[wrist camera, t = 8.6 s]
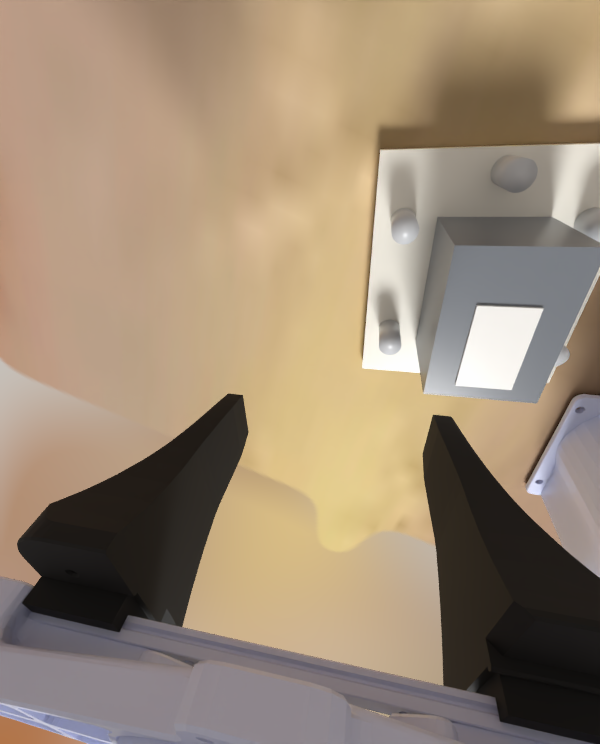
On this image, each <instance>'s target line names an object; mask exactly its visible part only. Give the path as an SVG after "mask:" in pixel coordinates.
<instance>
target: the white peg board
mask: <svg viewBox="0 0 600 744" xmlns="http://www.w3.org/2000/svg"><path fill="white" fill-rule="evenodd" d="M437 217H553V218H555V219H557V220H559V221H561V222H563V223H564V224H566V225H568V226H570V227H572V228H574V229H576V230H577V231H579V232H581V233H583V234H585V235H587V236H588V237H590V238H592V239H594V240H596V241H598V242H600V143H570V144H537V145H504V146H471V147H438V148H406V149H380V159H379V171H378V183H377V195H376V207H375V219H374V231H373V243H372V255H371V268H370V280H369V292H368V304H367V316H366V328H365V340H364V352H363V364H362V368H365V369H377V370H390V371H403V372H416V373H420V368H419V362H418V355H417V349H416V336H417V331H418V325H419V319H420V314H421V308H422V302H423V297H424V291H425V285H426V279H427V274H428V268H429V262H430V257H431V251H432V245H433V240H434V234H435V228H436V223H437ZM599 275H600V267H599V270H598V272H597V274H596V276H595V278H594V280H593V283H592V285H591V287H590V289H589V291H588V294H587V296H586V298H585V300H584V302H583V304H582V307H581V309H580V311H579V313H578V315H577V317H576V320H575V322H574V324H573V326H572V328H571V330H570V333H569V335H568V337H567V339H566V341H565V343H564V346H563V348H562V350H561V352H560V354H559V356H558V359H557V361H556V363H555V365H554V367H553V369H552V372H551V374H550V376H549V378H548V380H547V382H546V383H549V382H550V379H551V377H552V375H553V373H554V371H555V369H556V367H557V366H559V365H561V364H563V363H565V362H566V361H567V360H568V358H569V356H570V352H569V350H568V349H567V348H566V346H567V343H568V341H569V339H570V337H571V335H572V333H573V331H574V329H575V326H576V324H577V322H578V320H579V318H580V316H581V314H582V312H583V309H584V307H585V305H586V303H587V301H588V299H589V297H590V295H591V292H592V290H593V288H594V286H595V284H596V282H597V280H598V278H599Z"/></svg>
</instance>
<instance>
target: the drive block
mask: <svg viewBox="0 0 600 744" xmlns="http://www.w3.org/2000/svg"><path fill="white" fill-rule="evenodd" d="M599 267H600V242H598V241H596V240H594V239H592V238H590V237H588V236H587V235H585V234H583V233H581V232H579V231H577V230H576V229H574V228H572V227H570V226H568V225H566V224H564V223H563V222H561V221H559V220H557V219H555V218H553V217H437V223H436V228H435V234H434V240H433V245H432V251H431V257H430V262H429V268H428V274H427V279H426V285H425V291H424V297H423V302H422V308H421V314H420V319H419V325H418V331H417V336H416V349H417V355H418V362H419V368H420V375H421V382H422V388H423V394H433V395H445V396H457V397H468V398H480V399H492V400H503V401H515V402H527V403H537V402H538V400H539V398H540V396H541V393H542V391H543V389H544V387H545V385H546V382H547V380H548V378H549V376H550V374H551V372H552V369H553V367H554V365H555V363H556V361H557V359H558V356H559V354H560V352H561V350H562V348H563V346H564V343H565V341H566V339H567V337H568V335H569V333H570V330H571V328H572V326H573V324H574V322H575V320H576V317H577V315H578V313H579V311H580V309H581V307H582V304H583V302H584V300H585V298H586V296H587V294H588V291H589V289H590V287H591V285H592V283H593V280H594V278H595V276H596V274H597V272H598V270H599Z"/></svg>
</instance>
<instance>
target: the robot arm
mask: <svg viewBox="0 0 600 744" xmlns="http://www.w3.org/2000/svg"><path fill="white" fill-rule="evenodd" d="M578 407H581V408H579V409H576V408H578ZM247 436H248V426H247V420H246V413H245V407H244V400H243V395H236V394H227V395H226V396H225V397H224V398H223V399H221V400H220V401H219V402H218V403H217V404H216V405H214V406H213V407H212V408H211V409H210V410H209V411H208V412H207V413H205V414H204V415H203V416H202V417H201V418H200V419H198V420H197V421H196V422H195V423H194V424H192V425H191V426H190V427H189V428H188V429H186V430H185V431H184V432H182V433H181V434H180V435H179V436H177V437H176V438H175V439H173V440H172V441H171V442H169V443H168V444H167V445H165V446H164V447H162V448H161V449H159V450H158V451H156V452H155V453H153V454H152V455H150V456H149V457H147V458H145V459H144V460H142V461H140V462H138V463H137V464H135V465H133V466H131V467H130V468H128V469H126V470H124V471H123V472H121V473H119V474H118V475H115V476H113V477H111V478H109V479H107V480H105V481H103V482H101V483H99V484H97V485H94V486H92V487H90V488H88V489H86V490H83V491H81V492H79V493H76V494H74V495H71V496H69V497H66V498H64V499H61V500H59V501H56V502H54V503H51V504H50V505H49V506H48V507H47V508H46V509H45V510H44V511H43V512H42V514H41V515H40V516H39V517H38V518H37V520H35V522H34V523H33V524H32V525H31V526H30V527H29V529H28V530H27V531H26V532H25V533H24V534H23V535H22V537H21V538H20V539H19V540H18V543H17V546H18V550H19V552H20V554H21V555H22V556H23V557H24V559H25V560H27V562H28V563H29V564H30V565H31V566H32V567H33V568H34V569H35V570H36V571H37V572H38V573H39V574H40V575H41V576H42V577H41V578H40V579H39V581H38V582H37V583H36V585H35V586H33V585H31V584H29V583H26V582H23V581H19V580H15V579H10V578H6V577H1V576H0V715H1V716H4V717H7V718H10V719H14V720H17V721H20V722H23V723H26V724H29V725H32V726H35V727H39V728H42V729H45V730H48V731H51V732H54V733H57V734H60V735H63V736H66V737H69V738H72V739H75V740H78V741H81V742H84V743H88V744H600V395H588V394H580V395H577V396H575V397H574V398H573V399H572V400H571V402H570V404H569V406H568V408H567V410H566V412H565V413H564V415H563V417H562V419H561V421H560V423H559V425H558V427H557V428H556V430H555V432H554V434H553V436H552V438H551V440H550V441H549V443H548V445H547V447H546V449H545V451H544V453H543V454H542V456H541V458H540V460H539V462H538V464H537V466H536V467H535V469H534V471H533V473H532V475H531V477H530V479H529V480H528V482H527V484H526V490H527V492H528V493H530V494H536V495H541V497H542V499H543V501H544V504H545V506H546V508H547V511H548V513H549V515H550V518H551V520H552V522H553V525H554V527H555V529H556V532H557V534H558V536H559V539H560V541H561V543H562V546H563V547H562V546H560V545H559V544H558V543H557V542H556V541H555V540H554V539H553V538H552V537H551V536H549V535H548V534H547V533H546V532H545V531H544V530H543V529H542V528H541V527H540V526H539V525H537V524H536V523H535V522H534V521H533V520H532V519H531V518H530V517H529V516H528V515H527V514H526V513H525V512H524V511H523V510H522V509H521V507H520V506H519V505H518V504H517V503H516V502H515V501H514V500H513V499H512V498H511V497H510V496H509V494H508V493H507V492H506V491H505V490H504V489H503V487H502V486H501V485H500V484H499V483H498V481H497V480H496V479H495V478H494V477H493V475H492V474H491V473H490V471H489V470H488V469H487V468H486V466H485V465H484V464H483V462H482V461H481V460H480V458H479V457H478V455H477V454H476V453H475V451H474V450H473V449H472V447H471V446H470V444H469V443H468V441H467V440H466V438H465V437H464V435H463V434H462V432H461V431H460V429H459V428H458V426H457V424H456V423H455V421H454V420H453V419H452V417H449V416H439V415H433V417H432V421H431V425H430V429H429V432H428V436H427V440H426V443H425V447H424V451H423V469H424V481H425V487H426V493H427V499H428V504H429V510H430V515H431V521H432V526H433V532H434V537H435V544H436V551H437V563H438V577H439V591H440V606H441V627H442V650H443V682H444V683H443V684H444V686H442V685H437V684H433V683H429V682H424V681H420V680H415V679H411V678H407V677H402V676H397V675H393V674H389V673H384V672H380V671H375V670H371V669H366V668H362V667H357V666H353V665H348V664H344V663H340V662H335V661H330V660H326V659H322V658H317V657H313V656H308V655H304V654H299V653H295V652H290V651H286V650H282V649H277V648H272V647H268V646H264V645H259V644H255V643H250V642H246V641H241V640H237V639H233V638H228V637H224V636H219V635H215V634H210V633H206V632H201V631H197V630H192V629H188V628H184V627H182V625H183V621H184V617H185V614H186V610H187V606H188V602H189V598H190V595H191V591H192V588H193V584H194V581H195V577H196V574H197V570H198V567H199V563H200V560H201V557H202V554H203V550H204V547H205V544H206V541H207V537H208V535H209V532H210V529H211V526H212V523H213V519H214V517H215V514H216V512H217V509H218V507H219V504H220V502H221V499H222V497H223V495H224V493H225V491H226V489H227V487H228V484H229V482H230V480H231V478H232V476H233V473H234V471H235V469H236V467H237V464H238V462H239V460H240V458H241V455H242V452H243V449H244V446H245V442H246V439H247ZM366 709H367V710H366ZM369 710H372V711H376V712H380V713H384V714H388V715H390V716H389V717H386V716H383V715H380V714H378V713H375V712H372V711H369Z"/></svg>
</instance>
